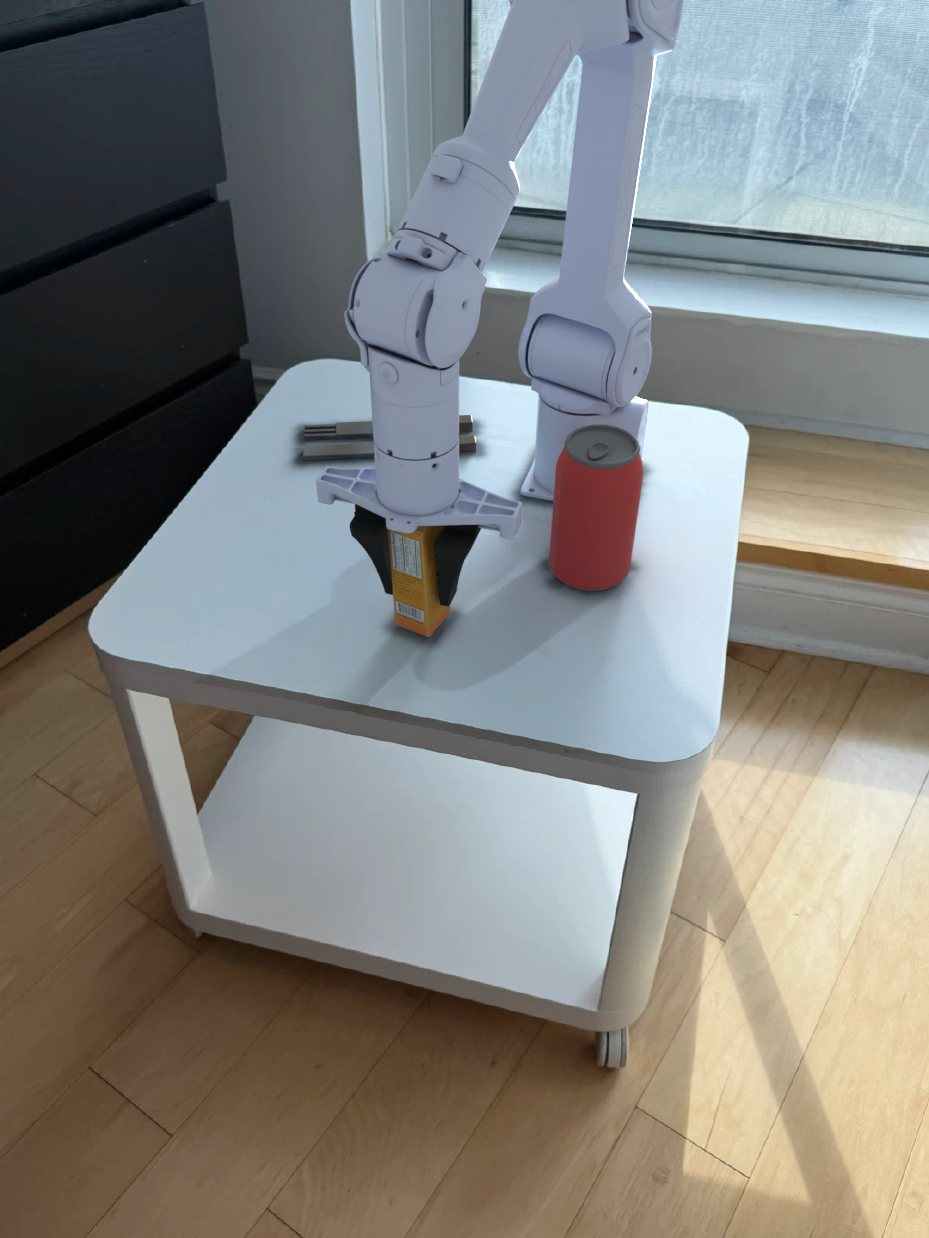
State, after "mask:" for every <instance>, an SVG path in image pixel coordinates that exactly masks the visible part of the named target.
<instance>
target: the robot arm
mask: <svg viewBox="0 0 929 1238" xmlns="http://www.w3.org/2000/svg"><path fill="white" fill-rule="evenodd" d="M508 1H509V5H510V8H509V11H508V14H507V16H506V19H505V21H504V24H503V26H502V28H501V32H500V34H499V37H498V39H497V43H496V45H495V47H494V50H493V53H492V56H491V58H490V61H489V64H488V66H487V69H486V72H485V74H484V76H483V80H482V82H481V85H480V87H479V90H478V93H477V95H476V97H475V100H474V103H473V107H472V109H471V111H470V114H469V117H468V120H467V122H466V124H465V128H464V130H463V132H462V135H459V136H457V137H453V138H451V139H449V140H448V139H447V140H445V141H443V142H442V143H439V144H438V145H437V146H436V147H435V150H434V152H433V153H432V155H431V158H430V160H429V161H428V163H427V166H426V168H425V170H424V171H423V174H422V176H421V178H420V181H419V183H418V185H417V188H416V189H415V191H414V193H413V195H412V198H411V200H410V202H409V205H408V206H407V208H406V211H405V212H404V215H403V217H402V219H401V221H400V223H399V225H398V228H397V230H396V232H395V234H394V236H393V237H392V240H391V242H390V245H389V247H388V249H387V251H386V252H384V253H381V254H379V255H378V256H376V257H373V258H371V259H369V260H368V261H367V262H365V263H364V264H363V265H362V267H361V268H360V269H359V270H358V272H357V273H356V275H355V277H354V279H353V282H352V283H351V287H350V290H349V291H350V292H349V297H348V306H347V309H346V310H345V311H344V315H343V316H344V322H345V327H346V329H347V331H348V333H349V335H350V337H351V338H352V339H353V340H354V341H355V342H356V344H357V345H358V347H359V354H360V355H359V356H360V365H361V366H363V368H364V369H366V371H367V373H369V387H370V388H369V389H370V403H371V421H372V423H373V443H374V455H375V457H374V467H357V468H356V467H353V468H352V467H351V468H350V467H349V468H348V467H335V466H329V465H326V466H325V468H324V469H323V470H322V472H321V473H320V474H319V476H318V477H317V479H316V480H315V485H316V493H317V494H316V496H317V502H318V503H319V504H322V505H329V506H331V505H334V503H335V501H338V502H343V503H347V504H354V512H353V514H354V516H353V517H352V519H351V520H350V522H349V530H350V536H352V537H353V539H355V540H356V542H358V543H359V544H360V546H361V547H362V549H363V550H364V551H365V552H366V554H367V555H368V557H369V558H370V560H371V562H372V564H373V565H374V568H375V570H376V572H377V574H378V577H379V579H380V582H381V584H382V588H383V590H384V593H385V594H386V595H390V596H393V589H392V577H391V564H390V552H389V541H388V530H387V528H388V529H389V530H393V531H398V532H403V533H413V532H414V531H415V530H416V529H417V527H418V526H443V525H445V526H444V528H442V530H441V532H440V534H439V536H438V538H437V539H436V541H435V543H434V550H435V553H436V556H437V560H438V566H439V574H440V584H439V601H440V605H443V606H447V607H448V606H450V607H451V604H452V603H453V600H454V598H455V596H456V594H457V592H458V587H459V586H458V585H459V580H460V575H461V573H462V569H463V566H464V563H465V560H466V559H467V557H468V555H469V554H470V552H471V551H472V548H473V546H474V544H475V542H476V540H477V538H478V536H479V533H480V532H481V531H482V529H484V530H489V531H495V532H499V537H500V538H501V539H504V540H505V539H506V540H510V541H515V539H516V537H517V534H518V532H519V530H520V528H521V525H522V514H523V513H522V512H523V502H522V501H519V500H514V499H510V498H507V497H504V496H500V495H498V494H497V493H494V492H492V491H489V490H487V489H486V488H485V489H484V488H482V487H480V486H478V485H476V484H473V483H471V482H469V481H467V480H464V479H463V478H462V479H461V478H460V453H459V436H460V432H459V415H460V359H461V358H462V356H463V355H464V354H465V352H466V351H467V349H468V347H469V346H470V344H471V342H472V340H473V339H474V337H475V335H476V332H477V329H478V325H479V322H480V315H481V305H482V299H483V295H484V292H485V290H486V289H487V286H486V283H487V281H488V280H487V277H486V276H485V275H484V274H483V272H484V270H485V268H486V265H487V264H488V262H489V259H490V257H491V254H492V252H493V251H494V249H495V246H496V244H497V243H498V239H499V238H500V236H501V234H502V231H503V229H504V227H505V225H506V224H507V221H508V219H509V216H510V214H511V212H512V210H513V208H514V206H515V203H516V201H517V199H518V197H519V196H520V190H521V187H520V182H519V179H518V175H517V171H516V168H515V161H517V160H516V159H517V158H518V156H519V155H520V153H521V151H522V149H523V147H524V146H525V144H526V142H527V140H528V139H529V137H530V135H531V133H532V131H533V130H534V129H535V127H536V125H537V123H538V121H539V120H540V118H541V116H542V114H543V113H544V111H545V109H546V108H547V106H548V104H549V102H550V100H551V98H552V97H553V96H554V93H555V92H556V90H557V89H558V87H559V85H560V83H561V81H562V80H563V78H564V76H565V75H566V73H567V71H568V69H569V68H570V66H571V64H572V63H573V60H574V59H575V57H576V56H578V57H579V59H580V60H581V65H582V67H581V76H580V87H579V94H578V95H579V96H578V103H577V112H576V121H575V129H574V130H575V132H574V141H573V149H572V156H571V157H572V160H571V168H570V177H569V185H568V195H567V203H566V213H565V221H564V231H563V239H562V240H563V241H562V249H561V259H560V268H559V276H558V278H555V279H553V280H551V281H549V282H548V283H546V284H544V285H543V286H541V287H540V288H539V289H538V290H537V291H536V292H535V293H534V294H533V295H532V296H531V298H529V299H530V301H529V307H528V312H527V317H526V320H525V324H524V326H523V328H522V331H521V334H520V338H519V343H518V350H517V351H518V353H517V354H518V361H519V365H520V369H521V371H522V373H523V374H524V376H526V377H529V378H531V384H530V385H531V386H530V390H531V391H533V392H535V393H537V394H538V397H537V410H536V411H537V413H536V429H535V446H534V459H533V461H532V463H531V466H530V467H529V470H528V472H527V475H526V476H525V478H524V481H523V483H522V485H521V487H520V495H521V496H524V497H530V498H534V499H540V500H545V501H550V502H551V501H552V502H553V499H554V486H555V473H556V464H557V461H558V458H559V456H560V454H561V452H562V450H563V448H564V446H565V440H566V438H567V436H568V435H569V434H570V433H571V432H572V431H574V430H575V429H578V428H580V427H583V426H588V425H594V424H596V425H610V426H615V427H618V428H621V429H624V430H626V431H627V432H629V433H630V434H632V435H633V436H634V437H635V438H636V439H637V440H638V442H639V445H640V451H639V453H640V456H641V460H642V464H643V462H644V461H643V459H642V458H643V450H644V443H645V435H646V429H647V421H648V414H649V400H647V399H644V398H641V397H639V396H638V394H639V393H640V392H641V390H642V388H643V386H644V385H645V382H646V381H647V378H648V374H649V373H650V368H651V364H652V358H653V347H652V346H653V345H652V342H651V341H652V339H651V337H652V336H651V335H652V334H651V332H652V323H653V321H652V318H653V317H652V316H653V313H652V311H651V308H649V307H648V305H647V304H646V303H645V302H644V301H643V299H642V298H641V297H640V296H639V295H638V294H637V293H636V292H635V290H634V289H633V288H632V287H631V286H630V285H629V284H628V283H627V281H626V280H625V271H626V266H627V258H628V253H629V245H630V238H631V231H632V224H633V220H634V219H633V218H634V211H635V205H636V204H635V203H636V198H637V192H638V184H639V177H640V170H641V164H642V158H643V152H644V151H643V150H644V143H645V137H646V129H647V125H648V124H647V123H648V116H649V110H650V103H651V96H652V89H653V83H654V76H655V69H656V62H657V56H659V55H662V54H666V53H669V52H672V51H674V49H675V48H676V43H677V36H678V33H679V30H680V26H681V20H682V15H683V8H684V1H685V0H508Z"/></svg>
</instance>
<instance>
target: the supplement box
mask: <svg viewBox="0 0 929 1238" xmlns="http://www.w3.org/2000/svg"><path fill="white" fill-rule="evenodd" d="M444 526H445V525H443V526H418V527H417V529H416V530H415V531H414V532H413V533H403V532H398V531H393V530H389V529H388V528H387V530H388V541H389V552H390V564H391V577H392V589H393V595H392V598H393V599H392V600H393V610H394V611H393V612H394V622H395V625H396V626H398V627H400V628H402V629H405V630H407V631H409V632H412V633H414V634H418V635H420V636H423V637H426V638H431V636H432V635H433V634H434V633H435V632H436V630H437V629H438V628H439V627H440V626H441V625H442V624H443V623H444V622H445V620H446V619H447V618H448V617H449V615H450V614H451V605H450V606H448V607H447V606H443V605H440V601H439V584H440V574H439V566H438V560H437V556H436V553H435V550H434V543H435V541H436V539H437V538H438V536H439V534H440V532H441V530H442V528H444Z"/></svg>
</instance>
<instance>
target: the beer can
mask: <svg viewBox="0 0 929 1238" xmlns="http://www.w3.org/2000/svg"><path fill="white" fill-rule="evenodd" d="M639 451H640V445H639V442H638V440H637V439H636V438H635V437H634V436H633V435H632V434H630V433H629V432H627V431H626V430H624V429H621V428H618V427H615V426H610V425H596V424H594V425H588V426H583V427H580V428H578V429H575V430H574V431H572V432H571V433H570V434H569V435H568V436H567V438H566V440H565V446H564V448H563V450H562V452H561V454H560V456H559V458H558V461H557V464H556V473H555V486H554V499H553V501H552V513H551V526H550V540H549V552H548V553H549V554H548V563H549V564H548V565H549V568H550V570H551V572H552V575H554V577H556V578H557V579H558V580H559V581H560V582H561V583H563V584H564V585H566V586H568V587H571V588H573V589H575V590H579V591H580V590H581V591H585V592H601V591H605V590H609V589H611V588H613V587H615V586H618V585H620V584H621V583H622V582H623V581H624V580H625V579H626V578H627V577H628V575H629V572H630V569H631V565H632V559H633V551H634V545H635V538H636V529H637V523H638V517H639V516H638V515H639V508H640V501H641V496H642V495H641V494H642V487H643V481H644V474H645V473H644V464H643V463H642V460H643V459H642V458H641V456H640V453H639Z"/></svg>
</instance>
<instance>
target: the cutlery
mask: <svg viewBox="0 0 929 1238" xmlns="http://www.w3.org/2000/svg"><path fill="white" fill-rule="evenodd" d="M473 425H474V422H473V416H472V414H459V433H462V432H464V433H466V432H473V430H474V429H473V428H474V427H473ZM303 432H304V435H303V439H304V440H305V441H307V440H308V441H309V440H310V441H311V440H332V439H333V440H334V439H336V440H345V439H348V440H349V439H368V438H369V439H370V438H373V423H372V420H369V421H365V420H364V421H347V422H346V421H345V422H343V421H341V422H340V421H339V422H336V423H327V424H304V431H303ZM373 439H374V438H373ZM476 452H477V439H476V435H475V434H473V435H459V454H461V453H463V454H464V453H476ZM302 457H303V458H302V460H303V461H320V460H322V461H323V460H343V459H344V460H345V459H369V458H370V459H371V458H375V455H374V442H359V443H336V444H309V445H303V450H302Z"/></svg>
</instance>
